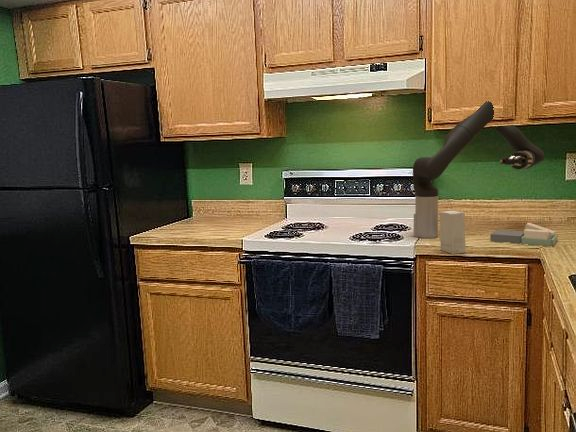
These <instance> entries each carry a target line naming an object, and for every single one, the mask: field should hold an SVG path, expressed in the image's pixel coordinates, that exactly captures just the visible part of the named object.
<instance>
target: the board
mask: <svg viewBox="0 0 576 432" xmlns="http://www.w3.org/2000/svg"><path fill="white" fill-rule="evenodd" d="M523 231H524V230H511V229H510V230H509V229H495V230H494V231H492V232H491V233H489V235H490V238H489V240H490V241H495V242H494V243H503V242H510V243H509V244H515V243H521V237H522V236H523V235H524V234H523Z"/></svg>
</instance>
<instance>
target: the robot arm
mask: <svg viewBox="0 0 576 432" xmlns="http://www.w3.org/2000/svg"><path fill="white" fill-rule="evenodd" d="M493 108H494V107H493V105H492V103H491V102H489V101H488V102H487V101H486V102H485V103H484V104H483V105H482V106H481V107H480V108H479V109H478V110H477V111H476V110H475V112H474V113H472V114H469V116H467V117H466V118H464V119H463V120H461V121H460V122H458V123H457V124H456V125H455V126H454V127H453V128H452V129H451V130H449V132H448V133H447V135H446V136H445V140H444V141H443V142H444V143H443V146H442V148H440V150H439V151H438V152H437V153H435V155H433V156H431V157H430V156H429V157H427V156H425V157H423V156H422V157H418V158H417V159H416V160H415V161H414V162H413V166H412V185H413V186H412V187H413V190H414V192H415V195H414V196H415V198H414V199H415V201H414V202H415V203H414V204H415V213H414V214H413V237H417V238H421V239H423V238H424V239H432V238H433V239H434V238H437V237H438V236H439V189H438V188H437V187H436V186H435V185H434V184H433V183H432V181H434V180H437V179H438V178H439V177H440V176H441V175H442V174H443V173H444V172H445V170H446V169H447V168H448V166H449V165H450V163H451V162H452V161H453V160H454V159H455V158H456V157H457V156H458V155H459V154H460V153H461V152H462V151H463V150H464V149H465V148H467V146H468V145H469V144H470V143H471V142H472V141H473V139H475V137H476V136H478V135H479V134H480V132H481V131H482V130H483V129H484V128H485V127H486V126H487V125H489V124H488V123H489V122H490V121H491V120H492V119H493V117H494V116H493V115H494V110H493ZM492 128H493V129H494V130H495V131H496V132H497V133H498V134H499V135H500V136H502V138H503V139H504V141H506V142H507V144H508V145H509V146H510V148H511V149H512V150H513V151H514V152H513V153H511V155H510V157H500V159H499V164H500V165H506V166H507V165H509V166H510V167H511V168H512V169H515V170H527V169H530V168H532V167H534V166H536V165H538V164H539V163H541V162H543V161H544V159H545V154H544V151H543V150H542V149H541V148H539V147H538V146H537V145H535V144H533V143H532V142H530V140H529V139H527V137H526V136H525V135H524V134H523V132H522V131H521V130H520V129H519V128H518V127H517V126H516V125H513V126H498V127H492Z"/></svg>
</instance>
